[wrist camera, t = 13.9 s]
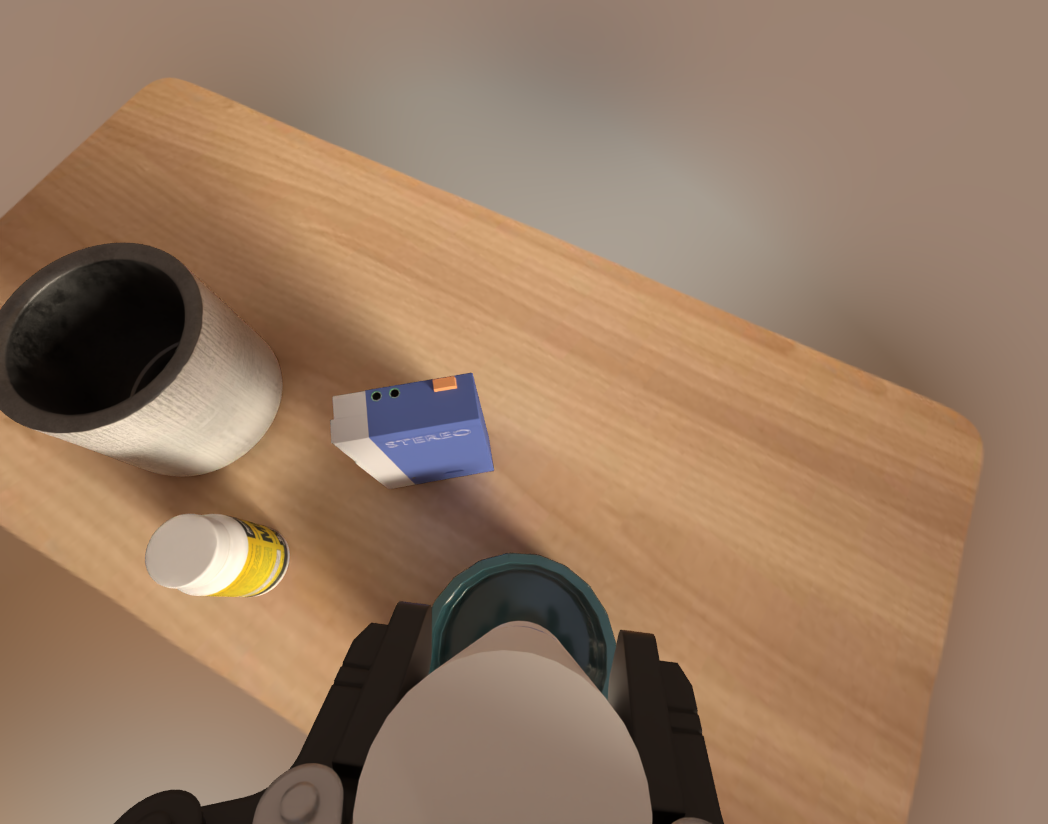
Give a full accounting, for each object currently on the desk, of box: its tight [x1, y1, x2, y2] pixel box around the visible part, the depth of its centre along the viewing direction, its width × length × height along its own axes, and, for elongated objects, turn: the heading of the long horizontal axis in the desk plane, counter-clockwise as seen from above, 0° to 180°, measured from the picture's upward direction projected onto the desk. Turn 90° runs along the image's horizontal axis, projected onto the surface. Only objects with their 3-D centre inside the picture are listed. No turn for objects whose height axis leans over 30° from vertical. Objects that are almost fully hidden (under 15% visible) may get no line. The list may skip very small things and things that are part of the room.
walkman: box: [330, 373, 494, 489], centre depth 33 cm, size 8×3×12 cm, turn 100°
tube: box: [353, 621, 652, 824], centre depth 15 cm, size 4×4×15 cm
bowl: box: [429, 553, 616, 701], centre depth 32 cm, size 11×11×5 cm
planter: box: [0, 243, 282, 477], centre depth 35 cm, size 13×12×11 cm
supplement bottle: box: [145, 514, 290, 597], centre depth 32 cm, size 5×5×8 cm
